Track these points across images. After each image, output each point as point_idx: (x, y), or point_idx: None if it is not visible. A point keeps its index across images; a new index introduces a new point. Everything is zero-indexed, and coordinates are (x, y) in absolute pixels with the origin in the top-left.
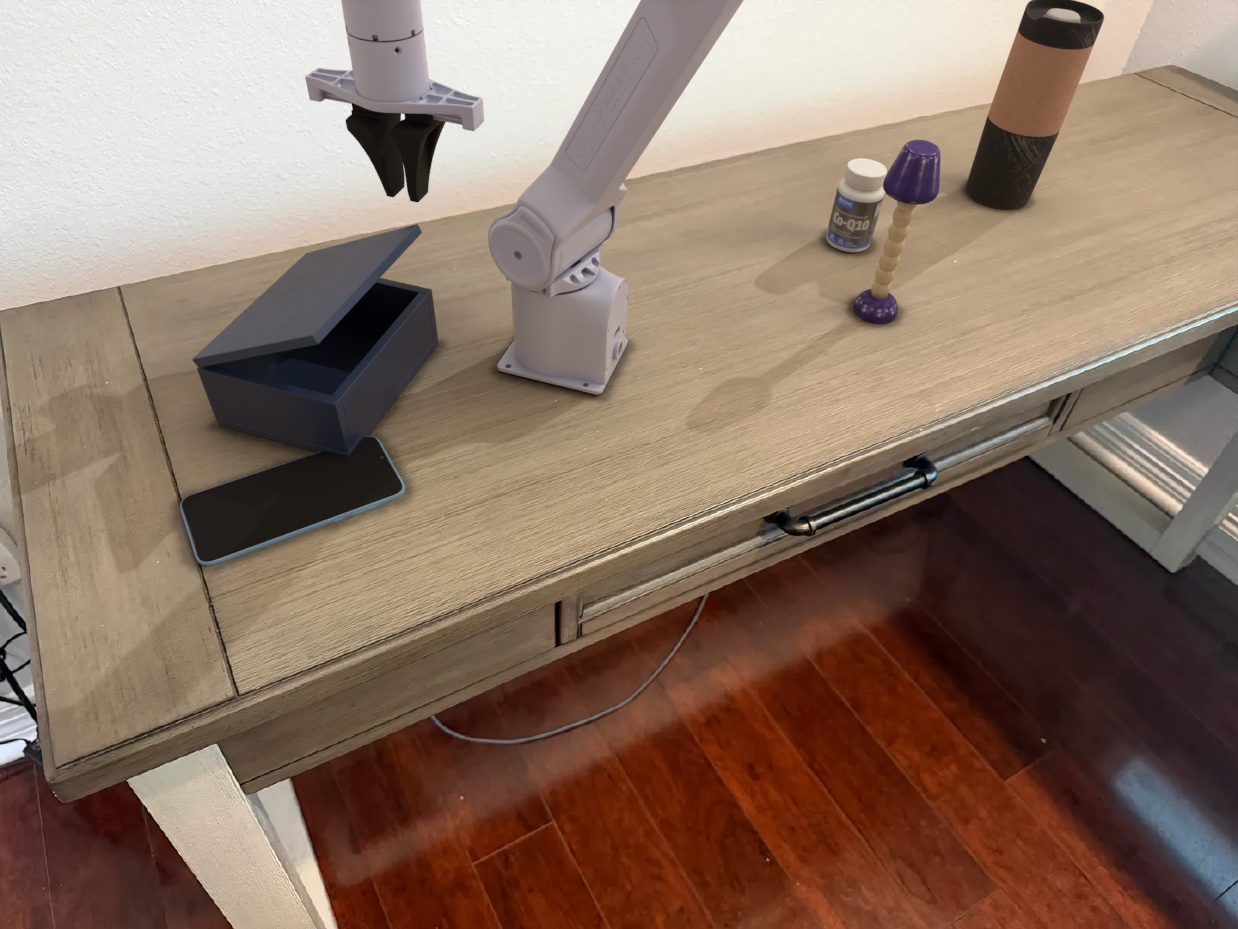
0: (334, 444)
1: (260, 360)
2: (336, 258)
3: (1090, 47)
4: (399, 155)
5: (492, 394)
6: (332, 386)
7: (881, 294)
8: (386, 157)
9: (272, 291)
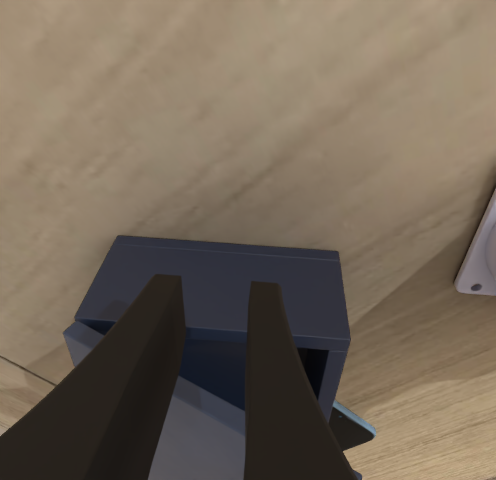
0: None
1: None
2: (181, 439)
3: None
4: (141, 373)
5: (450, 320)
6: (235, 363)
7: None
8: (142, 469)
9: None
